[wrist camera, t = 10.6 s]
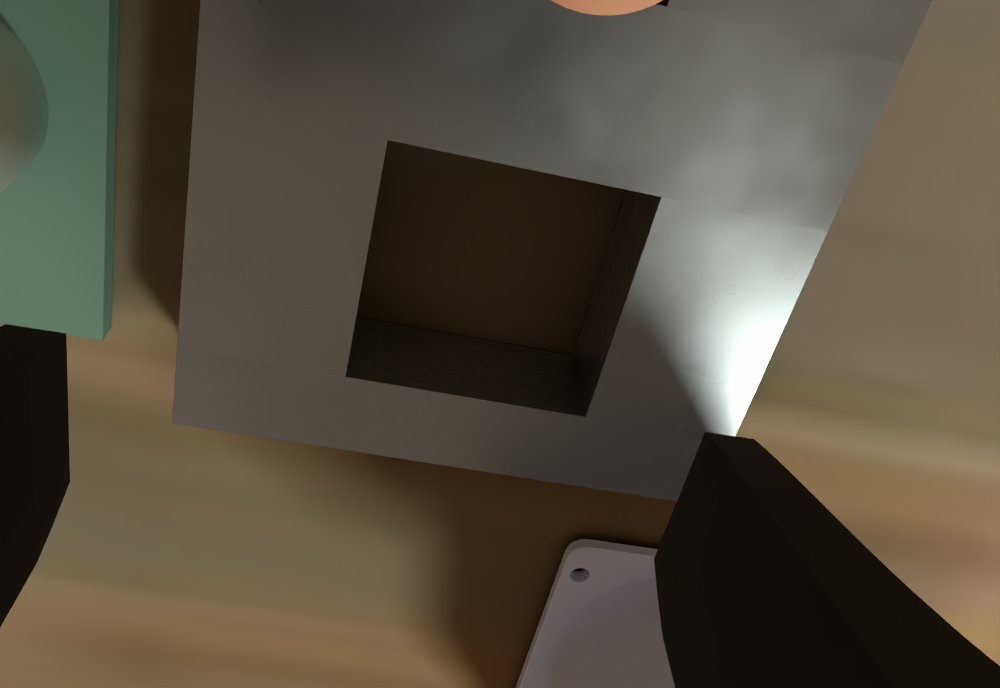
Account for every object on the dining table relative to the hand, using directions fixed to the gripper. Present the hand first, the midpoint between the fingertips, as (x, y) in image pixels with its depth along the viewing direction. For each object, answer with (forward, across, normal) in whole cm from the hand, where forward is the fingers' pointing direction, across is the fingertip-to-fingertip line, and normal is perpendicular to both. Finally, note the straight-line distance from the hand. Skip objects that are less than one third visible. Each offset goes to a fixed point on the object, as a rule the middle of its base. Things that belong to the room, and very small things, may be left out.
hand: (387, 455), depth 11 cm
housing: (+10, -2, -1) cm, 11 cm away
